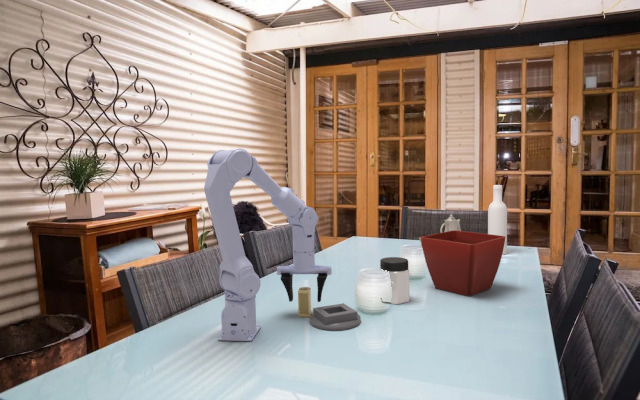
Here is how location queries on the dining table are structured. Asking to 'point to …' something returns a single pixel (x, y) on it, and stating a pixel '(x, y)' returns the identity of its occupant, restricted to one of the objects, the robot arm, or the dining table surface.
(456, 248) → the plant pot
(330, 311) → the hub
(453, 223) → the chinaware
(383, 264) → the jar
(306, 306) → the shaft
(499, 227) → the bottle
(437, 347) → the dining table surface
